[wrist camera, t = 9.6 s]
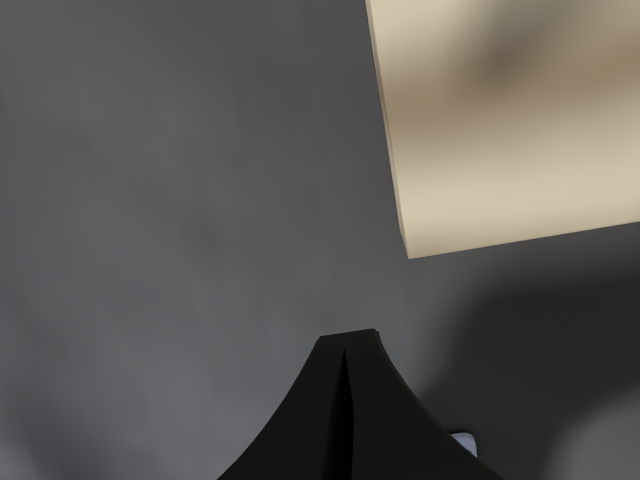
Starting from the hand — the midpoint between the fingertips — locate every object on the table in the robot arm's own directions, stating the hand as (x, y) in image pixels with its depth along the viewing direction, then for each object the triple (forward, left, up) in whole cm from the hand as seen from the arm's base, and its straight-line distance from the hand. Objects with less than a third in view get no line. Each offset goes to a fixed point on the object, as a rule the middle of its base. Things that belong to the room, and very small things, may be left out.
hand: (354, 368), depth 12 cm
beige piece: (+4, -8, -10) cm, 14 cm away
